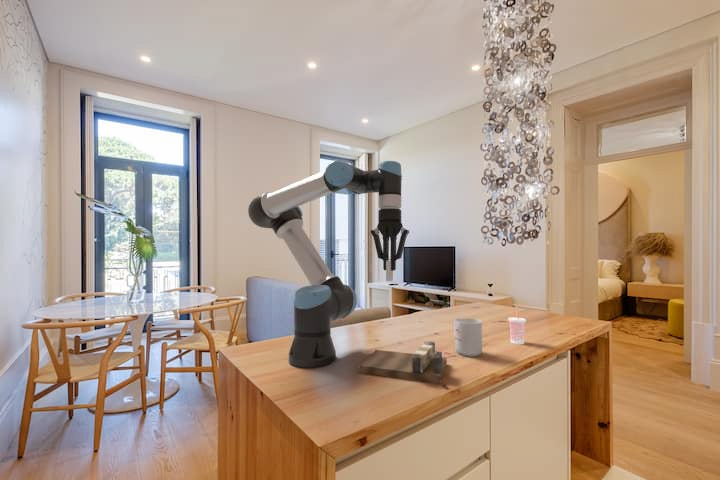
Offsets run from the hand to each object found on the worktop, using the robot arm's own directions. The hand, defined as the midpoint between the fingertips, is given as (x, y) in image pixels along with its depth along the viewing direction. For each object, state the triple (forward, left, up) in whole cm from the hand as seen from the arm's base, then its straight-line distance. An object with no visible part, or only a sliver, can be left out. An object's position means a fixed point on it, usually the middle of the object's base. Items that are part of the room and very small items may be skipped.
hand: (389, 280), depth 109 cm
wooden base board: (+6, -7, -25) cm, 27 cm away
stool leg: (+12, -7, -23) cm, 27 cm away
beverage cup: (+41, +35, -26) cm, 60 cm away
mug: (+23, +16, -26) cm, 38 cm away
